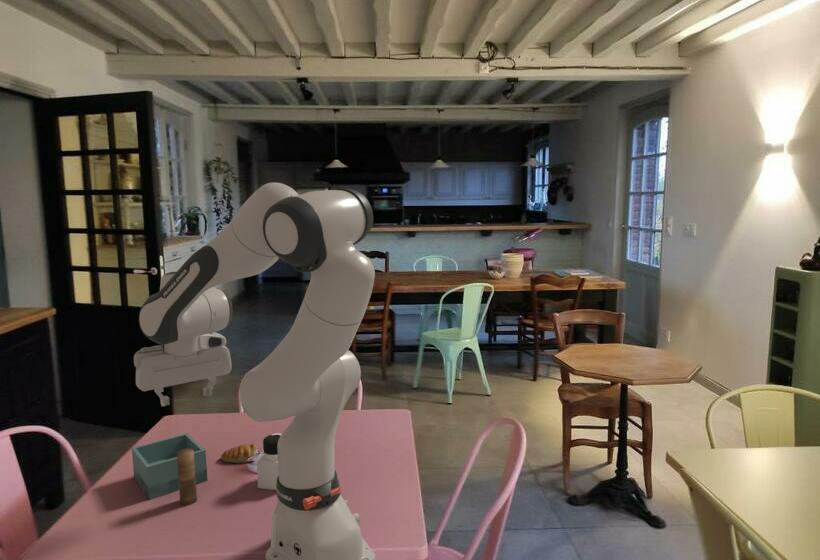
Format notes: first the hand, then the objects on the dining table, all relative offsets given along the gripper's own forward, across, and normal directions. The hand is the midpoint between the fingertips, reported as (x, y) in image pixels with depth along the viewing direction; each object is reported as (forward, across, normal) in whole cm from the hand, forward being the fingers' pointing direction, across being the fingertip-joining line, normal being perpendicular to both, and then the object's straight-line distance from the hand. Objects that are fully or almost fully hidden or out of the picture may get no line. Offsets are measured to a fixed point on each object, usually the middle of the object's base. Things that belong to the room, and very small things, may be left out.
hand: (187, 400), depth 123 cm
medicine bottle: (+24, +18, -7) cm, 31 cm away
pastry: (+25, +17, +12) cm, 32 cm away
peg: (+24, -1, -1) cm, 24 cm away
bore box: (+24, -1, +13) cm, 27 cm away
